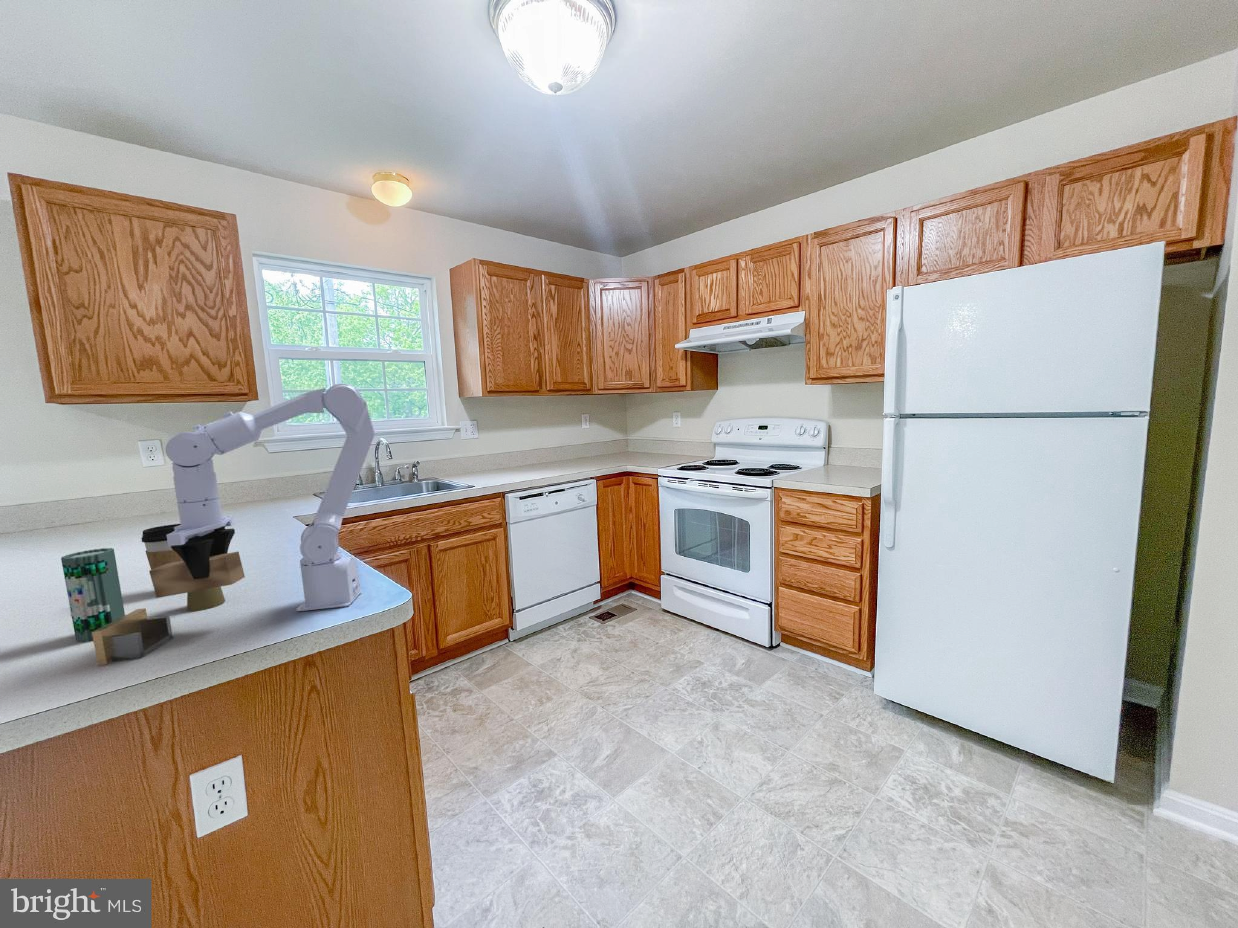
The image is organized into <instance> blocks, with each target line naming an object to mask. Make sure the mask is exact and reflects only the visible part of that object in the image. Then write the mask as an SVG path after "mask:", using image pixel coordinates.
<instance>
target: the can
mask: <svg viewBox="0 0 1238 928" xmlns="http://www.w3.org/2000/svg"><path fill="white" fill-rule="evenodd" d="M60 561H61V566H62V571H63V575H64V583H65V587H66V595H67V599H68V605H69V609H70V615H71V620H72V626H73V627H72V628H73V631H74V636H75V641H77V642H90V641H93V635H92V632H93V631H95V630H97V629H99V628H101V627H103V626H105V625H107V624H109V623H111V622H113V621H115V620H117V619H119V618H121V617H123V616H125V615H126V612H125V607H124V600H123V596H122V590H121V584H120V578H119V577H120V576H119V571H118V566H117V559H116V555H115V549H114V548H112V547H106V548H105V547H103V548H95V549H89V550H83V551H77V552H72V553H69V554H66V555H64V556H62V557H61V558H60Z"/></svg>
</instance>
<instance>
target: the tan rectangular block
mask: <svg viewBox="0 0 1238 928" xmlns="http://www.w3.org/2000/svg"><path fill="white" fill-rule="evenodd" d="M209 562H210V573H209V577H208V578H203V579H193V577H192V575H191V573H190V571H189V569H188V567H187V566H186V564H185V562H184V561H180V562H174V563H168V564H164V565H162V566H160V567H157V568H155V569H152V570H151V569H150V570H149V571H148V572H149V576H150V579H151V582H152V586H153V590H154V593H155V598H156V599H159V598H165V597H171V596H176V595H182V594H187V593H188V592H193V591H199V590H204V589H210V588H216V587H221V588H222V587H226V586H232V585H233V584H236V583H237V582H239V581H241V580H242V579H244V578H245V577H246V575H245V572H244V567H243V563H242V560H241V555H240V552H239V550H238V551H234V552H227V554H221V555H215V556H210V557H209Z"/></svg>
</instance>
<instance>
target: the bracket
mask: <svg viewBox="0 0 1238 928" xmlns="http://www.w3.org/2000/svg"><path fill="white" fill-rule="evenodd" d="M171 623H172V622H171V617H170V615H166V616H158V617H157V616H156V617H148V614H147V608H137V609H135V610H133V611H130V612H129V613H127V614H125V616H123V617H121V618H119V619H117V620H115V621H113V622H111V623H109V624H107V625H105V626H103V627H101V628H99V629H97V630H95V631H93V632H92V635H93V640H92V641H93V646H94V651H95V652H94V653H95V656H96V662H97V666H104V665H105V666H106V665H109V664H110V663H112V662H118V661H119V662H120V661H128V660H129V661H130V660H136V659H141V658H143V657H146V655H148V654H150V653H152V652H153V651H155V650H156V649H158V648H159V647H161V646H163V645H164V644H165V643H167V642H169V641H170V640H172V639H173V638H174V636H173V629H172V624H171Z"/></svg>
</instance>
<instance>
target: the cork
mask: <svg viewBox="0 0 1238 928" xmlns="http://www.w3.org/2000/svg"><path fill="white" fill-rule="evenodd" d="M186 597H187V598H186V610H187V611H188V612H197V611H198V612H200V611H205V610H208V609H213V608H215V607H219V606H221V605H223V604H224V603H225V602H226V599H225V596H224V592H223V589H222V586H221V587H216V588H210V589H204V590H199V591H193V592H188V593H186Z"/></svg>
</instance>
